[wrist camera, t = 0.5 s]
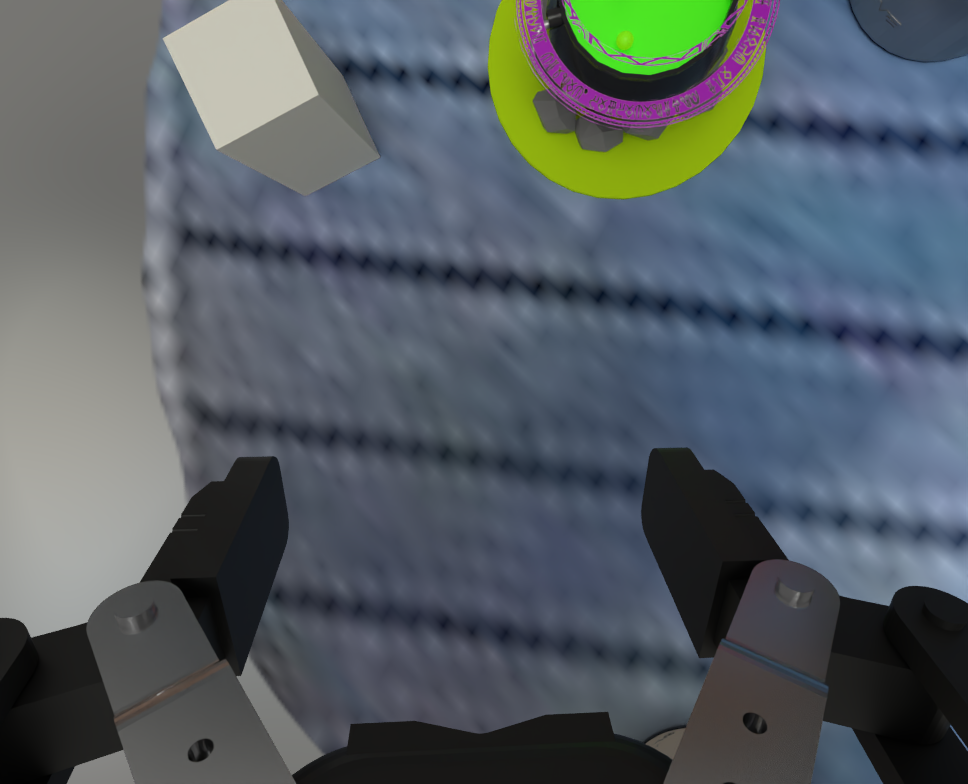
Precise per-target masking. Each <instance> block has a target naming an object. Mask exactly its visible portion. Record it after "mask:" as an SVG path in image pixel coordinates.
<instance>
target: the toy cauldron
mask: <svg viewBox="0 0 968 784" xmlns="http://www.w3.org/2000/svg"><path fill="white" fill-rule="evenodd" d="M759 2H762V3H759ZM771 3H772V0H502V1H501V3H500V5H499V7H498V9H497V12H496V16H495V20H494V24H493V28H492V32H491V36H490V42H489V57H488V74H489V82H490V91H491V96H492V99H493V103H494V106H495V109H496V112H497V115H498V118H499V121H500V123H501V125H502V127H503V128H504V130H505V132H506V134H507V136H508V137H509V139H510V141H511V143H512V144H513V146H514V147H515V148H516V149H517V150H518V152H519V153H520V154H521V155H522V156H523V157H524V159H525V160H526V161H527V162H528V163H529V164H530V165H531V166H532V167H534V168H535V169H536V170H537V171H539V172H540V173H541V174H543V175H544V176H545V177H546V178H548V179H549V180H551V181H553V182H555V183H557V184H559V185H561V186H563V187H565V188H567V189H569V190H571V191H573V192H577V193H581V194H585V195H588V196H592V197H596V198H608V199H630V198H637V197H644V196H650V195H653V194H656V193H659V192H662V191H665V190H668V189H670V188H673V187H676V186H678V185H680V184H681V183H683V182H685V181H686V180H688V179H690V178H692V177H693V176H695V175H697V174H698V173H700V172H701V171H702V170H704V169H705V168H706V167H707V166H708V165H709V164H711V163H712V162H713V161H714V160H715V159H716V158H717V157H719V156H720V155H721V154H722V153H723V151H724V150H725V149H726V148H727V146H728V145H729V144H730V143H731V142H732V140H733V139H734V138H735V137H736V135H737V134H738V133H739V131H740V130H741V128H742V126H743V124H744V122H745V120H746V118H747V116H748V115H749V113H750V111H751V109H752V107H753V105H754V102H755V99H756V96H757V93H758V90H759V87H760V84H761V80H762V77H763V69H764V61H765V53H766V45H767V43H768V40H769V38H770V36H771V33H772V30H773V28H774V24H775V21H776V17H777V14H778V9H779V3H780V0H779V1H778V7H777V12H776V16H775V20H774V23H773V27H772V26H771V25H770V24H771V22H773V21H772V18H774V16H773V14H774V13H775V11H774V9H775V8H776V7H775V5H776V4H777V2H776V0H774V5H773V11H772V14H771V18H770V22H769V25H768V28H767V31H766V33H765V26H766V23H767V20H768V16H769V12H770V7H771ZM764 19H765V20H766V23H764V22H765V21H764ZM770 27H772V29H771V32H770V35H769V37H768V40H767V42H766V39H765V37H766V36H768V34H767V33H768V32H769V28H770Z"/></svg>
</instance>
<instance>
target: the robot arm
mask: <svg viewBox="0 0 968 784" xmlns="http://www.w3.org/2000/svg"><path fill="white" fill-rule="evenodd" d="M850 2H851V6H852V10H853V12H854V14H855V16H856V18H857V20H858V21H859V23H860V25H861V27H862V28H863V29H864V31H865V32H866V33H867V34H868V35H869V36H870V37H871V39H872V40H873V41H874V42H876V43H877V44H879V45H880V46H881V47H883V48H884V49H886V50H887V51H888V52H891V53H893V54H896V55H898V56H901V57H903V58H906V59H911V60H917V61H923V62H930V61H945V60H949V59H953V58H957V57H960V56H964V55H966V54H968V0H850ZM641 516H642V525H643V530H644V533H645V536H646V538H647V541H648V543H649V545H650V547H651V550H652V552H653V554H654V556H655V559H656V561H657V563H658V566H659V568H660V570H661V572H662V575H663V577H664V579H665V581H666V584H667V586H668V588H669V591H670V593H671V595H672V597H673V600H674V602H675V604H676V606H677V609H678V611H679V613H680V616H681V618H682V620H683V622H684V625H685V627H686V629H687V631H688V634H689V636H690V638H691V641H692V643H693V645H694V647H695V650H696V652H697V654H698V656H699V658H711V657H714V659H713V661H712V664H711V666H710V669H709V671H708V674H707V676H706V679H705V681H704V684H703V686H702V689H701V691H700V694H699V696H698V699H697V701H696V703H695V706H694V708H693V711H692V713H691V716H690V718H689V721H688V723H687V726H686V728H685V731H684V733H683V736H682V738H681V741H680V743H679V746H678V748H677V751H676V753H675V756H674V758H673V760H672V759H671V758H670V757H668V756H667V755H665V754H663V753H662V752H660V751H658V750H656V749H655V748H653V747H651V746H649V745H646V744H644V743H642V742H640V741H638V740H635V739H632V738H628V737H625V736H622V735H618V734H614V733H613V730H612V726H611V722H610V718H609V714H608V712H596V713H575V714H554V715H544V716H541V717H537V718H534V719H531V720H528V721H524V722H521V723H518V724H515V725H511V726H508V727H505V728H502V729H498V730H495V731H492V732H489V733H484V734H477V733H471V732H466V731H461V730H457V729H452V728H447V727H442V726H437V725H432V724H427V723H422V722H417V721H405V722H384V723H363V724H351V726H350V733H349V740H348V746H347V747H344V748H341V749H337V750H335V751H333V752H330V753H328V754H326V755H324V756H321V757H320V758H318V759H316V760H314V761H313V762H311V763H309V764H308V765H306V766H304V767H303V768H302V769H300V770H299V771H297V772H296V773H295V774H293V775H291V773H290V771H289V770H288V768H287V766H286V764H285V762H284V761H283V759H282V757H281V755H280V754H279V752H278V750H277V748H276V746H275V745H274V743H273V741H272V739H271V738H270V736H269V734H268V732H267V730H266V729H265V727H264V725H263V723H262V721H261V720H260V718H259V716H258V714H257V713H256V711H255V709H254V707H253V706H252V704H251V702H250V700H249V698H248V697H247V695H246V693H245V691H244V690H243V688H242V686H241V684H240V682H239V681H238V679H237V677H236V676H241V674H242V671H243V669H244V666H245V663H246V660H247V657H248V654H249V651H250V648H251V645H252V643H253V640H254V637H255V634H256V631H257V628H258V625H259V622H260V619H261V616H262V614H263V611H264V608H265V605H266V602H267V599H268V596H269V593H270V590H271V587H272V585H273V582H274V579H275V576H276V573H277V570H278V567H279V564H280V561H281V559H282V556H283V553H284V550H285V547H286V544H287V539H288V530H289V520H288V512H287V506H286V500H285V494H284V488H283V483H282V477H281V471H280V466H279V462H278V459H277V458H276V457H274V456H272V457H239V458H237V459H236V461H235V463H234V464H233V466H232V468H231V470H230V472H229V473H228V475H227V477H226V479H225V481H217V482H210V483H209V484H208V485H207V486H205V487H204V488H203V489H202V490H200V491H199V492H198V493H197V494H195V495H194V496H193V497H192V498H191V499H190V501H189V503H188V504H187V506H186V508H185V509H184V511H183V513H182V515H181V518H179V519H178V521H177V523H176V524H175V526H174V527H173V531H172V533H170V534H169V535H168V537H167V539H166V540H165V542H164V544H163V545H162V547H161V549H160V550H159V552H158V554H157V555H156V557H155V558H154V560H153V562H152V563H151V565H150V567H149V568H148V570H147V572H146V573H145V575H144V576H143V578H142V580H141V581H140V583H137V584H134V585H131V586H128V587H126V588H124V589H121V590H120V591H118V592H116V593H114V594H113V595H111V596H109V597H108V598H107V599H105V600H104V601H103V602H102V603H101V604H100V605H99V606H98V607H97V608H96V609H95V610H94V612H93V613H92V614H91V616H90V618H89V620H88V622H87V623H84V624H81V625H77V626H74V627H70V628H66V629H62V630H59V631H55V632H51V633H48V634H44V635H40V636H37V637H33V638H31V637H30V635H29V633H28V630H27V628H26V627H25V625H24V624H23V623H22V622H20V621H18V620H16V619H10V618H0V784H67V782H68V779H69V777H70V775H71V773H72V771H73V769H74V767H75V766H76V765H79V764H82V763H85V762H88V761H91V760H94V759H97V758H100V757H103V756H106V755H109V754H112V753H115V752H118V751H121V750H124V752H125V755H126V758H127V761H128V764H129V767H130V770H131V773H132V776H133V779H134V782H135V784H811V779H812V774H813V769H814V763H815V758H816V753H817V748H818V742H819V737H820V732H821V727H822V722H823V721H826V722H830V723H834V724H838V725H842V726H846V727H850V728H852V729H853V731H854V733H855V734H856V736H857V738H858V740H859V742H860V743H861V745H862V747H863V749H864V750H865V752H866V754H867V756H868V757H869V759H870V761H871V763H872V765H873V766H874V768H875V770H876V772H877V773H878V775H879V777H880V779H881V781H882V782H883V784H968V751H967V750H966V748H965V747H964V746H963V744H962V743H961V741H960V740H959V739H958V737H957V736H956V734H955V733H954V732H953V730H952V729H951V728H950V725H952V727H953V728H954V730H955V731H956V732H957V734H958V735H959V737H960V738H961V739H962V741H963V742H964V743H965V745H966V746H967V748H968V603H966V602H965V601H963V600H961V599H959V598H957V597H955V596H953V595H951V594H949V593H946V592H943V591H940V590H937V589H933V588H929V587H923V586H908V587H904V588H902V589H899V590H898V591H897V592H896V593H895V594H894V596H893V599H892V601H891V603H890V606H886V605H881V604H876V603H871V602H866V601H861V600H856V599H851V598H847V597H843V596H839V594H838V592H837V590H836V589H835V587H834V586H833V585H832V584H831V583H830V581H829V580H828V579H826V578H825V577H824V576H823V575H821V574H820V573H818V572H817V571H815V570H813V569H811V568H809V567H807V566H805V565H802V564H800V563H796V562H793V561H789V560H788V559H787V557H786V556H785V554H784V553H783V552H782V550H781V549H780V547H779V546H778V545H777V543H776V542H775V540H774V539H773V538H772V536H771V535H770V533H769V532H768V531H767V529H766V528H765V526H764V525H763V524H762V522H761V521H760V520H759V518H758V517H757V516H755V513H754V511H753V510H752V508H751V507H750V506H749V504H748V503H745V499H744V497H743V496H742V494H741V493H740V492H739V490H738V489H737V487H736V486H735V485H734V483H732V482H731V481H729V480H728V479H727V478H725V477H724V476H722V475H721V474H720V473H718V472H717V471H715V470H704V469H703V467H702V466H701V464H700V463H699V461H698V460H697V458H696V457H695V455H694V454H693V452H692V451H691V450H690V449H689V448H654V449H652V451H651V453H650V456H649V462H648V468H647V475H646V481H645V488H644V494H643V501H642V509H641Z"/></svg>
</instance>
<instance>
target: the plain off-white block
mask: <svg viewBox="0 0 968 784" xmlns="http://www.w3.org/2000/svg"><path fill="white" fill-rule="evenodd" d="M163 40H164V42H165V44H166V46H167V48H168V50H169V52H170V54H171V56H172V58H173V61H174V63H175V65H176V67H177V69H178V71H179V73H180V75H181V77H182V79H183V81H184V83H185V85H186V88H187V90H188V92H189V94H190V96H191V98H192V100H193V102H194V104H195V106H196V108H197V110H198V112H199V115H200V117H201V119H202V121H203V123H204V125H205V127H206V129H207V131H208V133H209V135H210V137H211V139H212V142H213V144H214V146H215V148H216V150H218V151H220V152H221V153H223V154H225V155H227V156H229V157H231V158H233V159H235V160H237V161H239V162H241V163H243V164H244V165H246V166H248V167H250V168H252V169H254V170H256V171H258V172H260V173H262V174H264V175H265V176H267V177H269V178H271V179H273V180H275V181H277V182H279V183H281V184H283V185H285V186H287V187H288V188H290V189H292V190H294V191H296V192H298V193H300V194H302V195H304V196H307V195H309V194H311V193H313V192H315V191H317V190H319V189H321V188H322V187H324V186H326V185H328V184H330V183H332V182H334V181H336V180H338V179H340V178H342V177H344V176H346V175H348V174H350V173H351V172H353V171H355V170H357V169H359V168H361V167H363V166H365V165H367V164H369V163H371V162H373V161H375V160H377V159H379V158H380V155H379V153H378V151H377V149H376V147H375V145H374V142H373V140H372V138H371V136H370V134H369V132H368V129H367V127H366V125H365V123H364V121H363V119H362V116H361V114H360V112H359V110H358V108H357V105H356V103H355V101H354V99H353V97H352V95H351V92H350V90H349V88H348V86H347V84H346V82H345V79H344V77H343V75H342V74H341V73H340V72H339V70H338V69H337V68H336V67H335V65H334V64H333V63H332V62H331V60H330V59H329V58H328V57H327V56H326V54H325V53H324V52H323V51H322V49H321V48H320V47H319V46H318V44H317V43H316V42H315V41H314V39H313V38H312V37H311V36H310V34H309V33H308V32H307V31H306V29H305V28H304V27H303V26H302V24H301V23H300V22H299V21H298V20H297V18H296V17H295V16H294V15H293V13H292V12H291V11H290V10H289V8H288V7H287V6H286V5H285V3H284V2H283V1H282V0H229V1H227V2H225V3H223V4H222V5H220V6H218V7H216V8H215V9H213V10H211V11H210V12H208V13H206V14H204V15H203V16H201V17H199V18H197V19H196V20H194V21H192V22H190V23H189V24H187V25H185V26H184V27H182V28H180V29H178V30H177V31H175V32H173V33H171V34H170V35H168V36H166V37H164V38H163Z"/></svg>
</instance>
